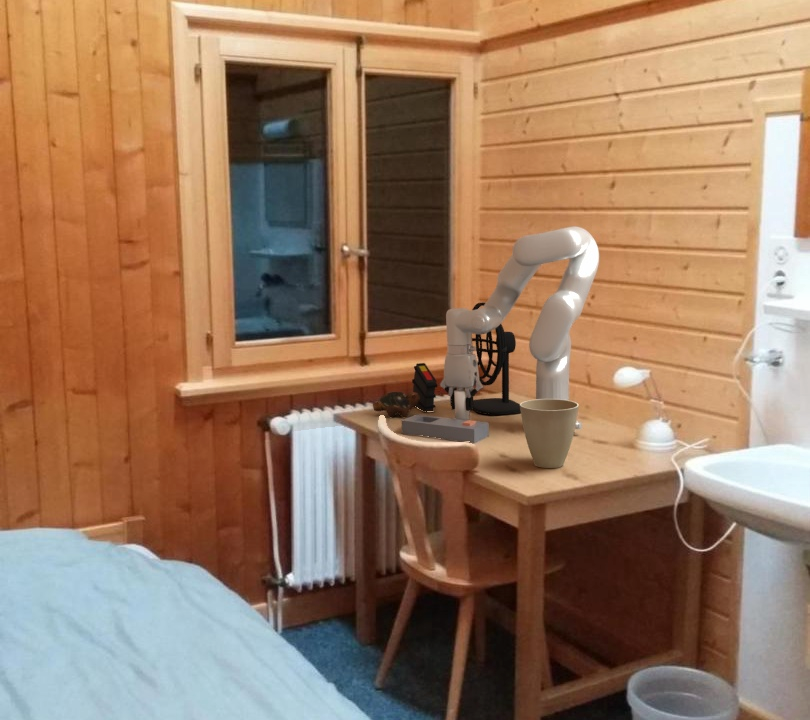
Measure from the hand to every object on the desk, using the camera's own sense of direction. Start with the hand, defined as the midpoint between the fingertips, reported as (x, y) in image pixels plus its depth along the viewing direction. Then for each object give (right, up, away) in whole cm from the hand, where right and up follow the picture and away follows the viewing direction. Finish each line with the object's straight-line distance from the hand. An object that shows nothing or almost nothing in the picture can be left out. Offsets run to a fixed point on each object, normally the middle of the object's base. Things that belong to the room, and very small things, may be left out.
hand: (462, 408), depth 296 cm
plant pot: (+20, -12, -44) cm, 49 cm away
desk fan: (+11, -1, +22) cm, 24 cm away
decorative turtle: (-20, -3, +15) cm, 25 cm away
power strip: (-6, -7, -11) cm, 14 cm away
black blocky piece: (-11, -2, +22) cm, 25 cm away
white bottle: (0, -3, +1) cm, 3 cm away
